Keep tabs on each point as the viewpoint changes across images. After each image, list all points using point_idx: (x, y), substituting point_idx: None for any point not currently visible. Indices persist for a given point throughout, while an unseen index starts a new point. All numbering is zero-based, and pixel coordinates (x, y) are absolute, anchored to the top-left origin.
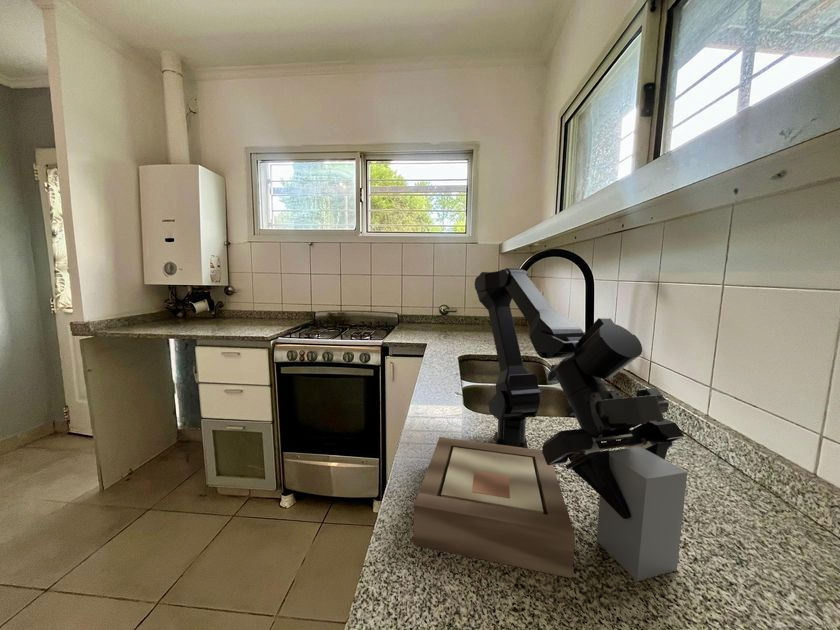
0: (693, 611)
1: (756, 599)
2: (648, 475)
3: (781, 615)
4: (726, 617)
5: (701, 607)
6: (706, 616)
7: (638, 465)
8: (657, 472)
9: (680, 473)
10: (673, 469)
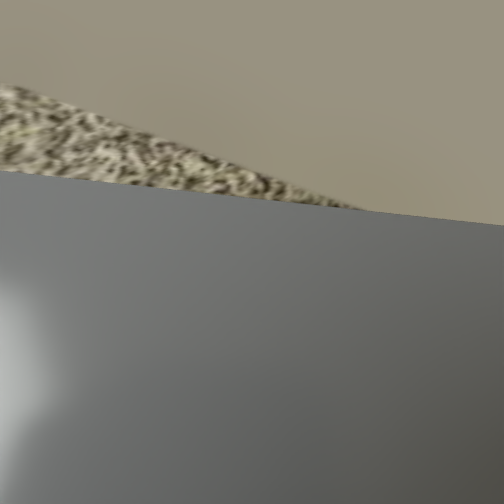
0: (232, 188)
1: (39, 151)
2: (491, 275)
3: (36, 109)
4: (173, 153)
5: (202, 187)
6: (216, 170)
7: (415, 495)
8: (326, 284)
9: (28, 177)
10: (19, 267)
